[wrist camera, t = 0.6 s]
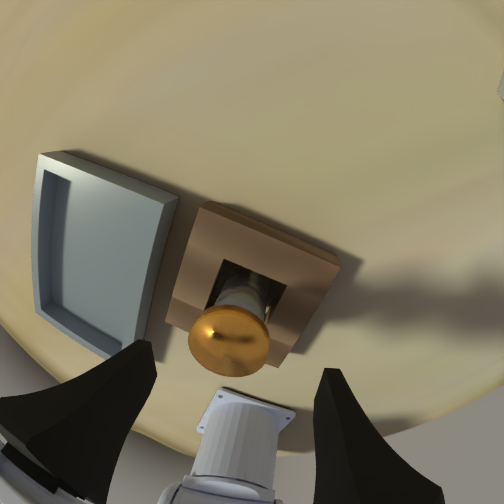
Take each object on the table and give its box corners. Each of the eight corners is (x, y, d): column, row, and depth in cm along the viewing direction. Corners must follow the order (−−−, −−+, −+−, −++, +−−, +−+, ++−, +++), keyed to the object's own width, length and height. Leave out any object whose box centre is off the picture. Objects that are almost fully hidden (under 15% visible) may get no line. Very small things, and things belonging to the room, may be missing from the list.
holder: (279, 351, 21) (278, 368, 20) (174, 307, 21) (164, 321, 19) (336, 255, 18) (340, 267, 16) (208, 200, 18) (199, 206, 16)
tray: (140, 356, 24) (129, 372, 22) (49, 300, 24) (35, 312, 22) (179, 196, 18) (164, 204, 16) (59, 150, 18) (39, 153, 16)
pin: (263, 316, 20) (249, 386, 14) (212, 295, 20) (180, 358, 14) (286, 272, 19) (281, 335, 12) (231, 249, 19) (200, 302, 12)
